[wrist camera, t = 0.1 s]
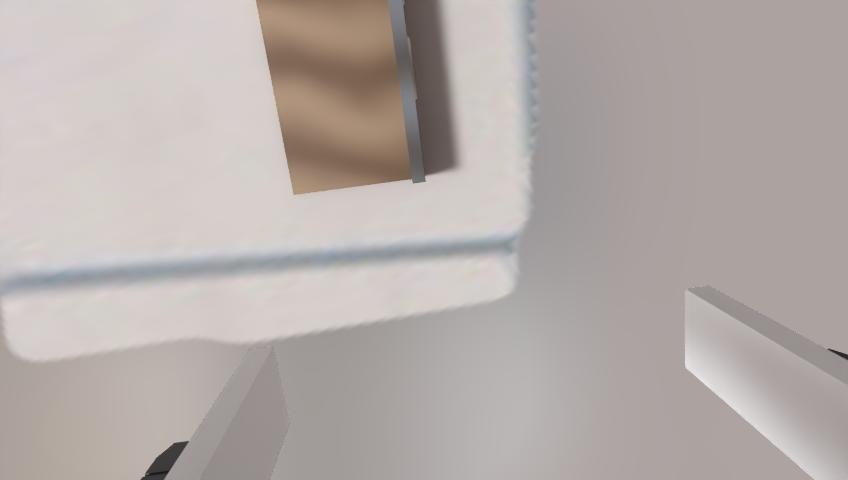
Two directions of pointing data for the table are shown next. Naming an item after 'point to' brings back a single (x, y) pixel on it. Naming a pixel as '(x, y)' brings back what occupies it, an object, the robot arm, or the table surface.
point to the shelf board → (343, 91)
